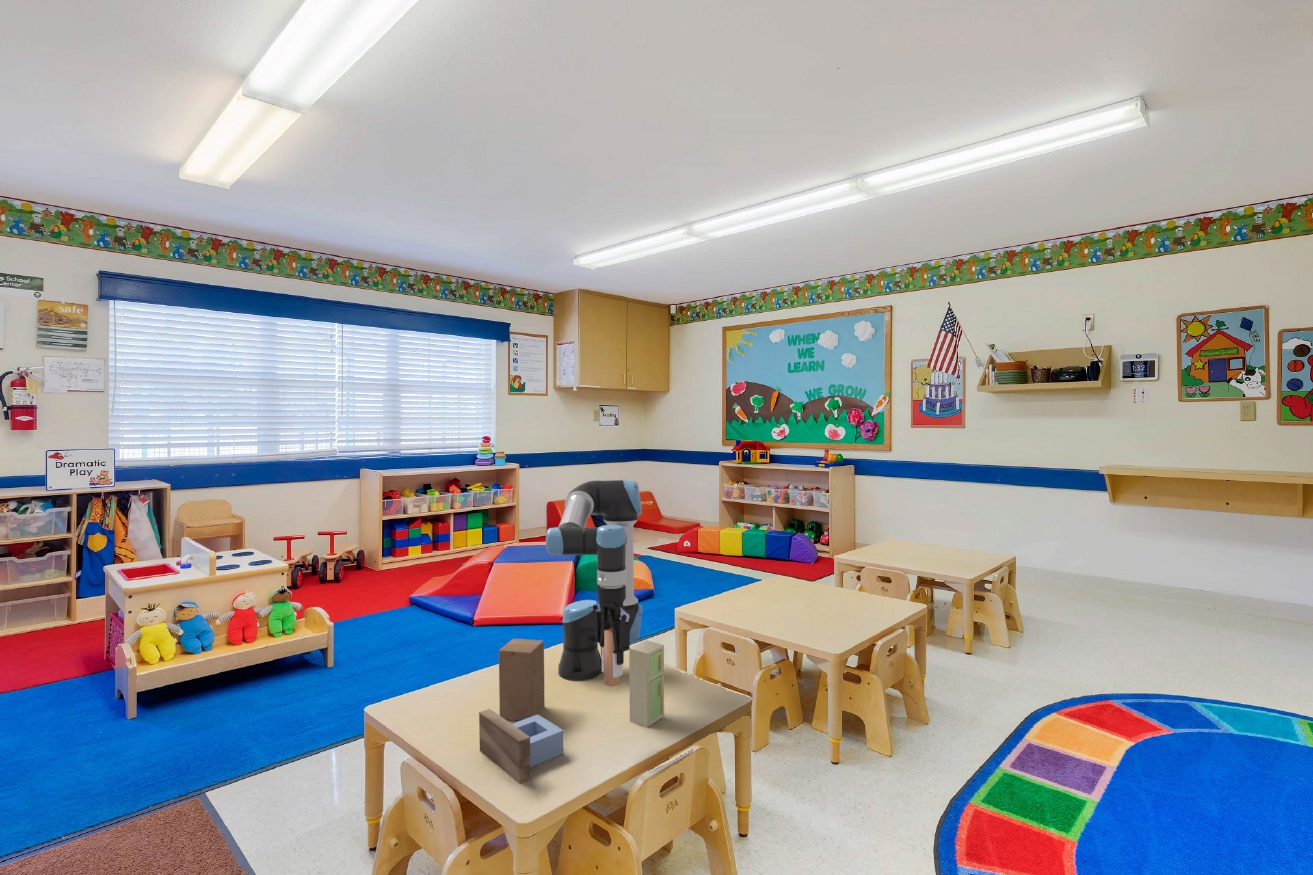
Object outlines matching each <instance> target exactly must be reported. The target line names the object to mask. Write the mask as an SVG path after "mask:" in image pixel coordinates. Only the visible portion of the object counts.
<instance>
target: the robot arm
mask: <svg viewBox="0 0 1313 875" xmlns="http://www.w3.org/2000/svg"><path fill="white" fill-rule="evenodd" d="M640 494H641V493H640V489H639V484H638V483H637V481H635V480H627V479H618V480H616V479H614V480H597V479H596V480H590V481H585V482H583V483H581V484H579V485H577V486H576V487H574V488H572V490H570V492H568V494H567V496H566V498H565V501H564V512H563V514H562V517H561V518H560V519H561V520H560V522H559V525H558V527H557V526H555V527H550V528H548V529H547V531H546V534H545V536H546V537H545V548H546V552H547V554H548V555H550V556H560V557H561V556H585V555H586V556H589V555H590V556H593V555H594V556H596V559H597V560H596V565H597V566H596V569H597V571H596V572H597V573H596V574H597V575H596V584H597V587H596V592H597V593H596V598H597V600H595V599H594V600H592V599H584V600H582V599H581V600H578V601H574V602H572V603H570V604H568V605H566V606H565V607H564V609H563V612H562V614H563V616H562V617H563V618H562V628H563V629H562V630H563V631H562V632H563V634H562V636H563V637H562V638H563V639H562V642H563V644H562V647H563V649H562V653H561V657H560V659H559V660H560V661H559V663H558V667H557V669H558V675H559V676H560V677H561V678H563V679H565V680H571V681H586V680H591V679H595V678H597V677H599V676H601V675H602V674H603V673H604V674H605V658H604V630H605V629H609V628H612V632H613V640H614V647H615V651H613V677H614V678H615V677H618V676H620V677H621V676H623V675H624V674H623V673H624V669H623V666H624V663H625V662H624V660H625V659H624V656H625V653H624V652H627V651H629V649H630V648H631V646H630V643H631V642H634V641H637V640H638V639H639V638H640V633H641V632H640V631H641V624H642V616H643V615H642V614H643V605H641V604H639V598H637V597H636V596H635V595H634V593H635V592H634V591H635V589H634V587H635V586H634V585H635V582H634V578H635V577H634V574H635V573H634V569H635V568H634V566H635V564H634V525H635V524H636V523H637V522H638V520H639V516H641V515H642V514H643V512H642V509H643V508H642V502H641V495H640ZM589 516H602V517H603V522H604V523H605V525H600V526H599V527H597V526H596V527H586V526H587V522H588V519H589ZM598 601H599V602H598ZM599 646H600V650H599Z"/></svg>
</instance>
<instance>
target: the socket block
mask: <svg viewBox="0 0 1313 875" xmlns="http://www.w3.org/2000/svg"><path fill="white" fill-rule="evenodd" d="M511 724H512V725H514V726H515V727H516V728H518V729H519V730H521V731H522V732H524V733H525V734H526V735H528V736H529V737H530V769H532V768H533V767H535V766H538V765H539V764H543V763H545V762H547V761H549V760H552V759H553V758H554V759H555V758H556V757H558V756H561V755H564V729H561V727H559V726H557V725H556V724H554V723H553V722H551V721H550V720H548V719H546V718H544V717H543V716H541V715H540V714H537V715H535V716H532V717H529V718H527V719H524V720H521V721H516V722H514V723H511Z"/></svg>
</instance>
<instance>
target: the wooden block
mask: <svg viewBox="0 0 1313 875" xmlns="http://www.w3.org/2000/svg"><path fill="white" fill-rule="evenodd" d="M498 676H499V677H498V686H499V688H498V689H499V690H498V691H499V692H498V693H499V716H501V717H502V718H504V719H505V720H507V721H508V720H509V721H510V720H511V721H517V722H519V721H521V720H524V719H527V718H529V717H532V716H535V715H537V714H538V715H540V713H541V712H542V710H543V709H544V708H545V705H546V704H545V642H544V640H539V639H538V640H536V639H527V638H526V639H524V638H512V639H511V640H510V641H509V642H507V643H505V645H503V646H502V647H501V648H500V649H499V651H498Z"/></svg>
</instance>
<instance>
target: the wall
mask: <svg viewBox="0 0 1313 875" xmlns="http://www.w3.org/2000/svg"><path fill="white" fill-rule="evenodd" d="M478 719H479V720H478V722H479V724H478V725H479V728H478V729H479V731H478V732H479V733H478V734H479V751H480V752H481V753H482V754H483V755H484V756H486V757H487V758H488V759H489V760H490V761H491V762H493V763H494V764H495V765H496V766H497V767H499V768H500V770H502V771H503V772H505V773H506V774H507V775H509V777H511V778H512V779H513V780H514V781H515V782H517V783H518V784H521V783H523V782H526V781H529V780H531V778H532V777H531V775H532V774H531V768H530V737H529V736H528V735H526V734H525V733H524V732H522V731H521V730H519V729H518V728H516V727H515V726H514V725H512V724H513V723H511V722H509V721H508V719H504V718H502V717H501V716H500V714H498V713H496V712H495V711H494V710H492V709H491V708H488V709H485V710H482V711H479V712H478Z"/></svg>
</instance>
